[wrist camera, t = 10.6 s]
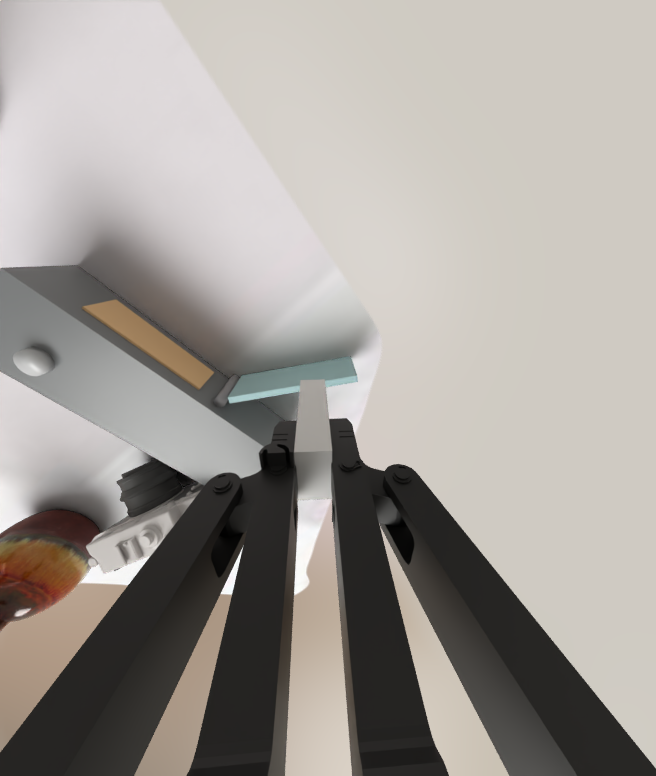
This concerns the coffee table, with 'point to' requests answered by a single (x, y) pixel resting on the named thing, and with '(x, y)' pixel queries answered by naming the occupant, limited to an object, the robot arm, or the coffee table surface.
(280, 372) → the side door
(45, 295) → the long gray box
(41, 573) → the vase
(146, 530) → the camera
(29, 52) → the coffee table surface
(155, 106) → the coffee table surface
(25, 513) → the coffee table surface
